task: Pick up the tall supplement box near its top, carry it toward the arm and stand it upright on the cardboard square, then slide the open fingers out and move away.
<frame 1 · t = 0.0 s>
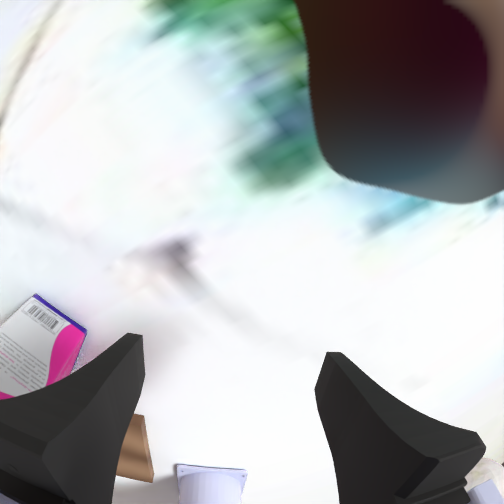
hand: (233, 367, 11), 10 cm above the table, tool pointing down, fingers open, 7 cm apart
supplement box: (55, 333, 22), on the table
ceramic pitcher: (445, 466, 35), on the table
cardboard square: (99, 434, 27), on the table
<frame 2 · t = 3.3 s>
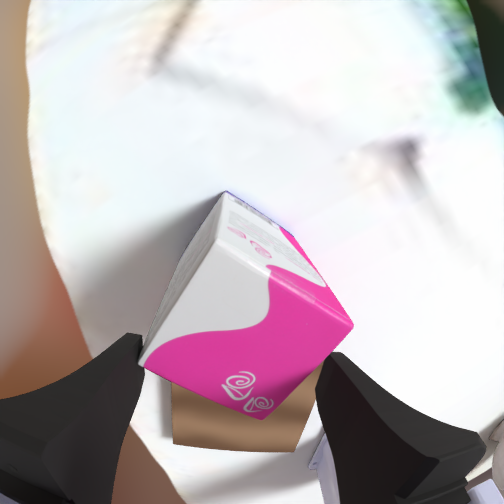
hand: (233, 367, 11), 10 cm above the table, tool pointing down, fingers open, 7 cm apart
supplement box: (236, 248, 21), on the table
cardboard square: (241, 397, 26), on the table
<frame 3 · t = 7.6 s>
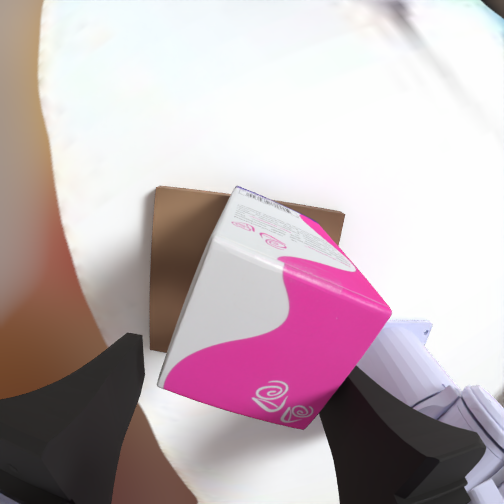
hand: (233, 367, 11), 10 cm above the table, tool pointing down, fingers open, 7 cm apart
supplement box: (259, 245, 20), point 1 cm above the table, touching gripper
cardboard square: (238, 278, 22), on the table
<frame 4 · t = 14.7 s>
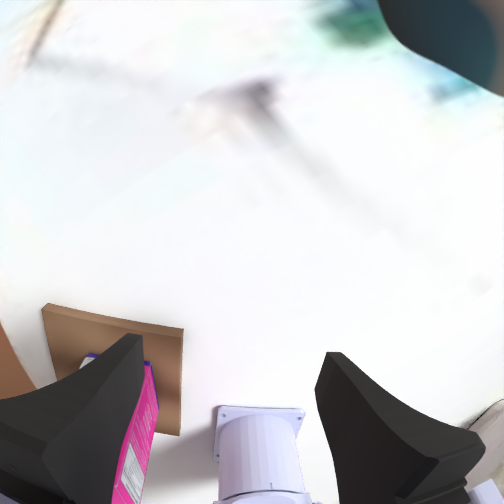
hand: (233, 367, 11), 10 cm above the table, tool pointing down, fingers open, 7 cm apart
supplement box: (125, 381, 23), point 1 cm above the table, touching cardboard square
ceramic pitcher: (491, 418, 32), on the table
cardboard square: (118, 368, 25), on the table, touching supplement box
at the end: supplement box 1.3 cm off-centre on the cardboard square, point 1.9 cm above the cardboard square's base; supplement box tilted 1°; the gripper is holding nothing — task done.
